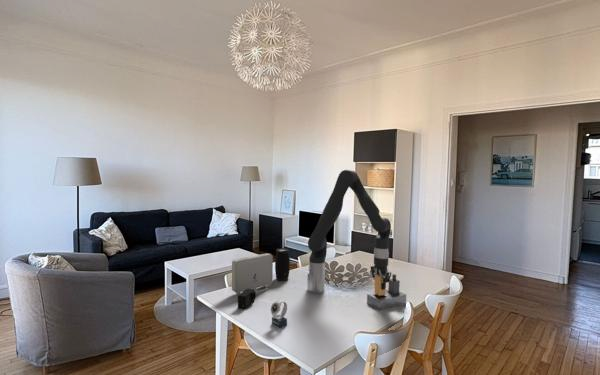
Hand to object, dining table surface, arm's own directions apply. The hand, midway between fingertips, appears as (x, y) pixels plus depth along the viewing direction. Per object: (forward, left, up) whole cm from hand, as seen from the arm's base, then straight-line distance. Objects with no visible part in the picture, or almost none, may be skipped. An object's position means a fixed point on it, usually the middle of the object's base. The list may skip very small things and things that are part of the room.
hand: (380, 287), depth 175 cm
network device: (-53, +49, -10) cm, 73 cm away
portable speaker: (-29, +59, -10) cm, 66 cm away
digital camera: (-63, +31, -10) cm, 71 cm away
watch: (-57, +4, -10) cm, 58 cm away
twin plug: (+10, 0, -7) cm, 12 cm away
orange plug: (0, 0, -3) cm, 3 cm away
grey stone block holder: (+5, 0, -9) cm, 11 cm away
